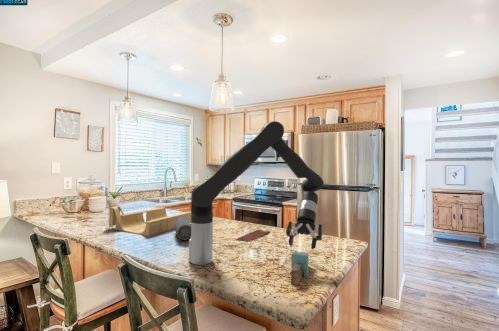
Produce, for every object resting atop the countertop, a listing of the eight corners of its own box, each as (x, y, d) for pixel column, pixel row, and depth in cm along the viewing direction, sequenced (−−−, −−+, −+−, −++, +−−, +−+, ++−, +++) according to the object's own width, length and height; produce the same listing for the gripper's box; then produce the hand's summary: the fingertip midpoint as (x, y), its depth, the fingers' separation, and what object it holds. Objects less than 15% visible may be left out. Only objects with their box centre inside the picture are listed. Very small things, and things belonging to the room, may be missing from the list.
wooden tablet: (257, 231, 172) (257, 228, 172) (271, 233, 166) (271, 230, 166) (233, 240, 149) (233, 237, 149) (247, 243, 144) (247, 240, 144)
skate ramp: (148, 238, 154) (149, 211, 153) (108, 229, 170) (109, 204, 169) (192, 225, 189) (193, 202, 189) (156, 218, 205) (157, 197, 205)
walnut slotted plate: (291, 284, 94) (291, 270, 94) (302, 265, 112) (302, 253, 112) (297, 285, 93) (297, 271, 93) (307, 265, 111) (307, 253, 111)
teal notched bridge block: (291, 274, 102) (291, 253, 102) (292, 271, 105) (293, 251, 105) (307, 276, 100) (307, 255, 100) (308, 274, 102) (308, 253, 102)
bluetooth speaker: (194, 241, 144) (194, 223, 144) (176, 243, 141) (176, 224, 141) (189, 231, 166) (189, 215, 166) (173, 232, 163) (174, 216, 163)
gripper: (289, 206, 115) (282, 239, 105) (323, 209, 110) (319, 244, 99) (292, 216, 120) (285, 249, 110) (324, 219, 115) (320, 254, 104)
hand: (301, 246), depth 104 cm, fingers open, 8 cm apart
